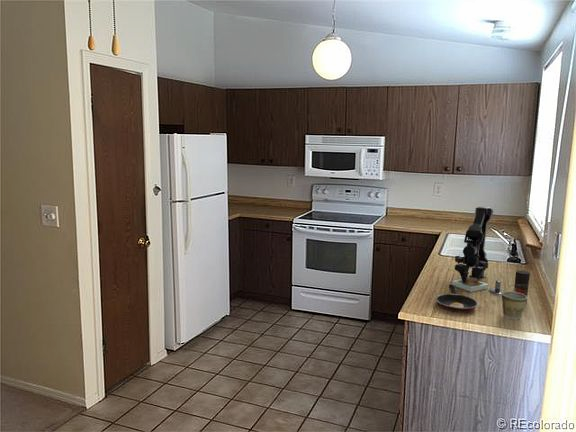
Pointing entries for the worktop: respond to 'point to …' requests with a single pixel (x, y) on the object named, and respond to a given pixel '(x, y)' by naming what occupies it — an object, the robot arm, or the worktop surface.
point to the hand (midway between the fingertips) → (470, 282)
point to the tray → (469, 288)
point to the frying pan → (456, 301)
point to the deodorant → (522, 282)
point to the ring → (472, 282)
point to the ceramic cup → (513, 304)
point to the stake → (496, 289)
